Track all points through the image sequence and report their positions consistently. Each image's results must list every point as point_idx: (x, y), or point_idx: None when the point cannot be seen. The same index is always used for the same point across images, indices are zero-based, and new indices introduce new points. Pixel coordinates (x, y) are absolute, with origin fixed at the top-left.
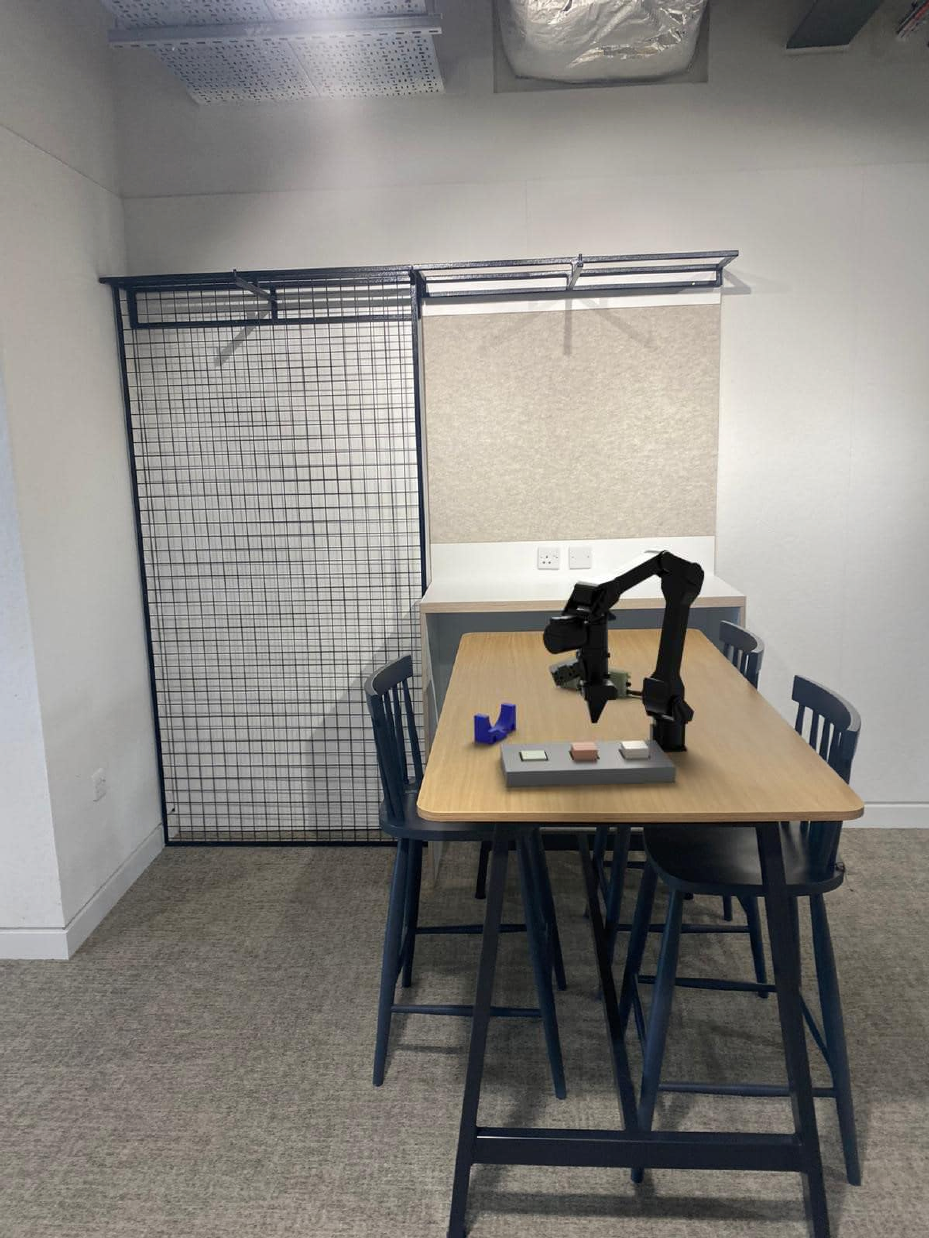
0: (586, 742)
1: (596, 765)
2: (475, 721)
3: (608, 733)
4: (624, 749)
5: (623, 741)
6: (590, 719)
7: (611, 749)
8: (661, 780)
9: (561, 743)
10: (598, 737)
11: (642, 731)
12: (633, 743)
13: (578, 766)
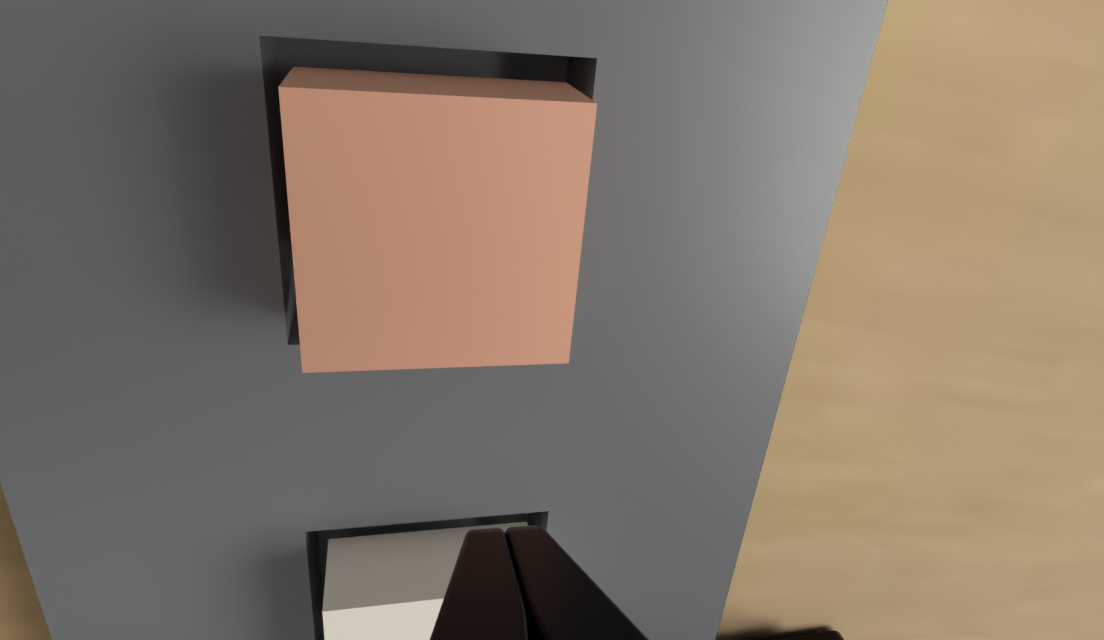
0: (575, 291)
1: (70, 280)
2: None
3: (1071, 446)
4: (377, 586)
5: None
6: (547, 547)
7: (557, 465)
8: None
9: (845, 30)
10: (1041, 382)
11: (1005, 605)
12: None
13: (2, 60)
